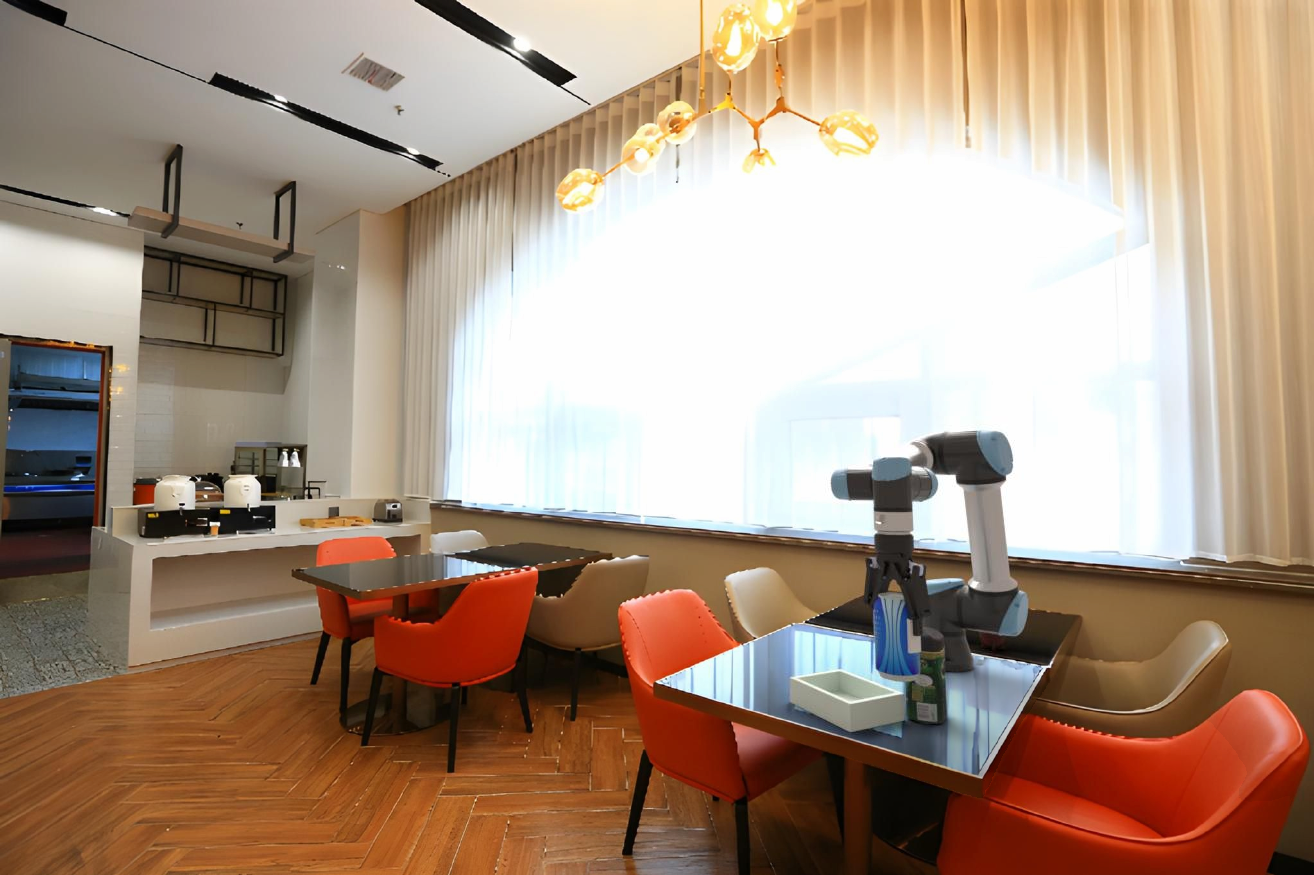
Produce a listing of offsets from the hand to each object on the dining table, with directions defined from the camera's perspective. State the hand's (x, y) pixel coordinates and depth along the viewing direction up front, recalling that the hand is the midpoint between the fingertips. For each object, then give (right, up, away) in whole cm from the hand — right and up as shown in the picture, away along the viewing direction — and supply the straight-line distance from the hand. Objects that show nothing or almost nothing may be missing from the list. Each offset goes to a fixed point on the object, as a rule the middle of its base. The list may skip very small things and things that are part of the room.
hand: (896, 646), depth 126 cm
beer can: (0, -6, 0) cm, 6 cm away
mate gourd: (+54, -22, +65) cm, 87 cm away
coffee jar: (+9, -18, +8) cm, 22 cm away
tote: (-7, -18, +12) cm, 23 cm away
